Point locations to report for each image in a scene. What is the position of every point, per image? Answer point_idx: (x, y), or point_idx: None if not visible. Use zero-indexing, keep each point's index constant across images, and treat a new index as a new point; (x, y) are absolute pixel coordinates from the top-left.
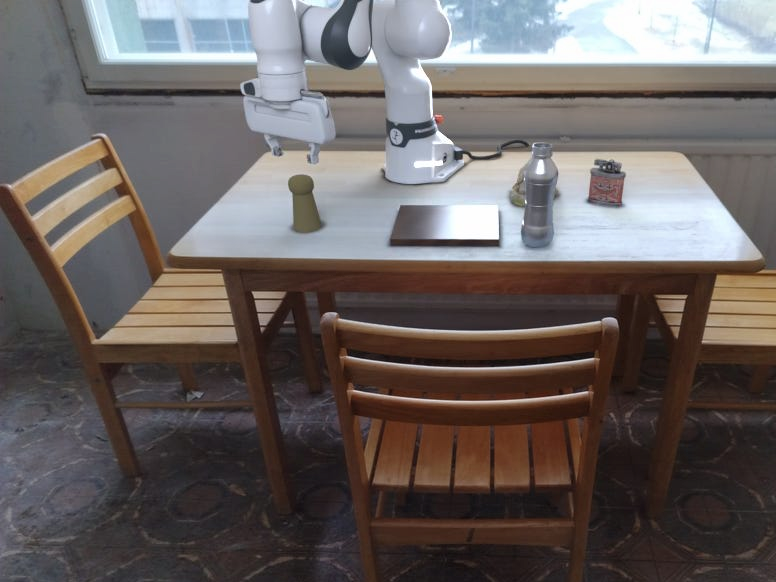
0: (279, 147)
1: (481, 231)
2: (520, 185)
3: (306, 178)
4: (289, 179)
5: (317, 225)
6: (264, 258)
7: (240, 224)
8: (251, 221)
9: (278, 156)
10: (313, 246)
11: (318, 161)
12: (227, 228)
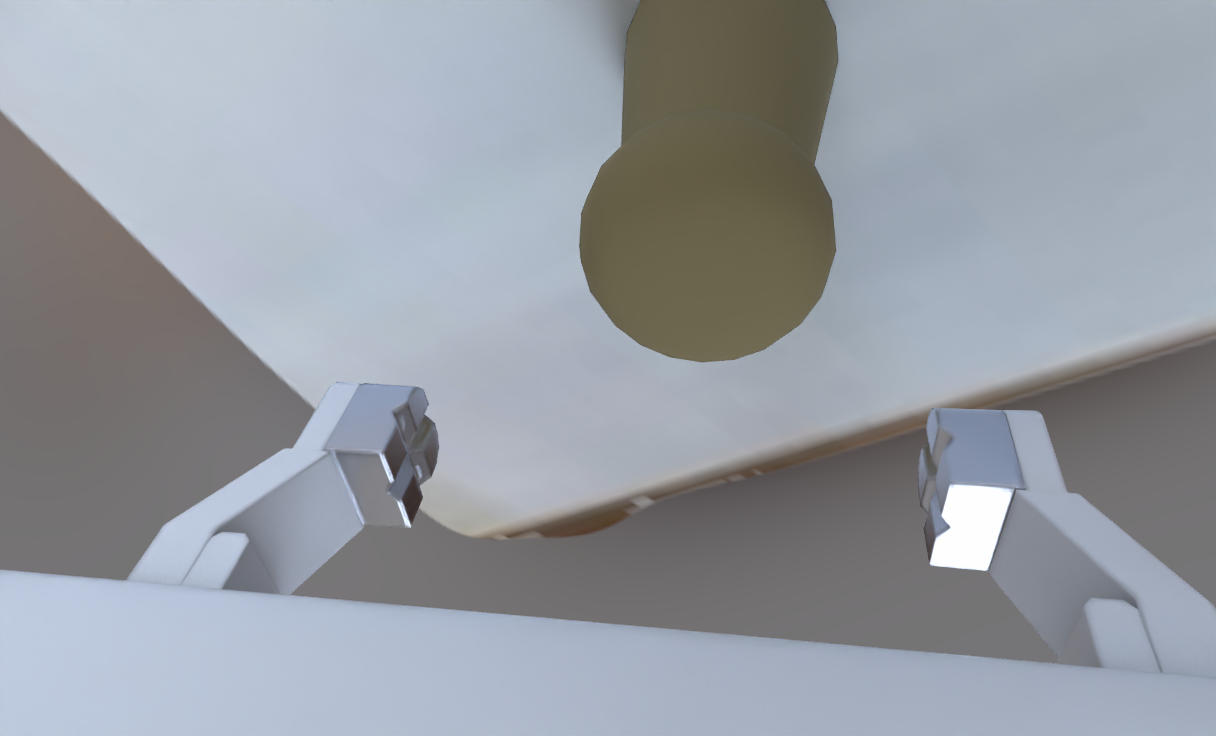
0: (392, 485)
1: None
2: None
3: (788, 282)
4: (632, 337)
5: (834, 74)
6: (801, 451)
7: (349, 240)
8: (353, 182)
9: (436, 442)
10: (967, 269)
11: (1037, 419)
12: (350, 304)
